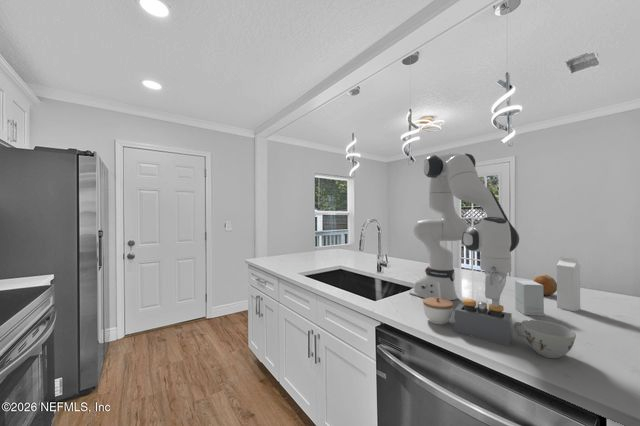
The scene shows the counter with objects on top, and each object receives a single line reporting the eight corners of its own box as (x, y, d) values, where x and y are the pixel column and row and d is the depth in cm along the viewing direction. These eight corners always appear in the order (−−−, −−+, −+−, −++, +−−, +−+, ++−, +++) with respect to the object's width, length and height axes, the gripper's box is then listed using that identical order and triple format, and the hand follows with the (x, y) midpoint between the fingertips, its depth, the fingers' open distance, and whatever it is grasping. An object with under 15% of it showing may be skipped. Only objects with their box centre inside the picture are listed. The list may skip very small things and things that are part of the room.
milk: (574, 311, 113) (574, 259, 112) (556, 307, 118) (556, 257, 118) (580, 309, 116) (580, 258, 115) (562, 304, 121) (562, 256, 121)
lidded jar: (447, 329, 97) (447, 304, 97) (419, 321, 105) (418, 298, 105) (456, 320, 105) (456, 297, 105) (429, 313, 113) (429, 291, 113)
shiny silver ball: (477, 311, 93) (476, 303, 93) (478, 309, 95) (478, 301, 95) (486, 313, 92) (486, 305, 91) (487, 311, 94) (487, 302, 94)
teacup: (582, 357, 79) (582, 329, 78) (567, 370, 72) (566, 341, 72) (523, 336, 91) (522, 313, 91) (505, 346, 85) (504, 321, 85)
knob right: (487, 333, 91) (487, 306, 91) (489, 328, 94) (489, 302, 94) (502, 336, 88) (502, 308, 88) (504, 332, 91) (504, 305, 91)
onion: (534, 290, 142) (534, 271, 142) (559, 294, 135) (558, 274, 135) (530, 294, 136) (530, 275, 136) (556, 299, 129) (556, 278, 129)
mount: (454, 331, 96) (454, 309, 96) (460, 324, 102) (460, 303, 102) (509, 346, 85) (509, 321, 85) (511, 336, 91) (511, 313, 91)
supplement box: (544, 316, 108) (544, 285, 108) (523, 315, 110) (523, 284, 110) (533, 309, 116) (533, 280, 116) (514, 308, 117) (514, 279, 117)
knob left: (461, 326, 96) (461, 301, 96) (464, 323, 99) (464, 298, 99) (475, 330, 93) (474, 303, 93) (477, 326, 96) (477, 300, 96)
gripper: (503, 271, 81) (503, 317, 81) (509, 261, 97) (509, 299, 97) (479, 269, 85) (479, 312, 85) (489, 259, 101) (489, 296, 101)
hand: (495, 305), depth 91 cm, fingers closed, pressing on knob right
